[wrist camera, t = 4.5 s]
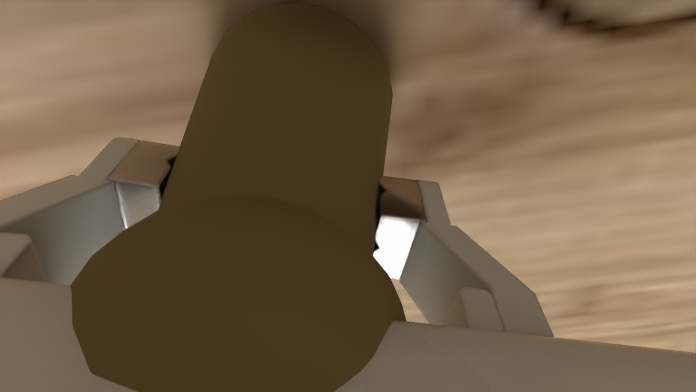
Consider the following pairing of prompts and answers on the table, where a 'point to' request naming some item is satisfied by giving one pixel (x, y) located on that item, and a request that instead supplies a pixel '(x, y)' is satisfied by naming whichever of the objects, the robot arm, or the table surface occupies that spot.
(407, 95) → the table surface
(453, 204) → the table surface
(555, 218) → the table surface
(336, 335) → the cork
